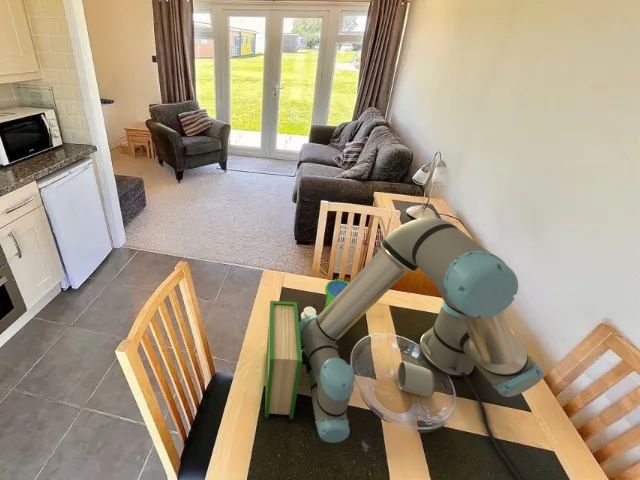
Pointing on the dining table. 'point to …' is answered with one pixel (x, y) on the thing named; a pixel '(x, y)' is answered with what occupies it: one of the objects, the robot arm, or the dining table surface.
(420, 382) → the ceramic mug
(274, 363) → the hardback book
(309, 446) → the dining table surface
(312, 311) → the supplement bottle
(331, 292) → the snack cup
